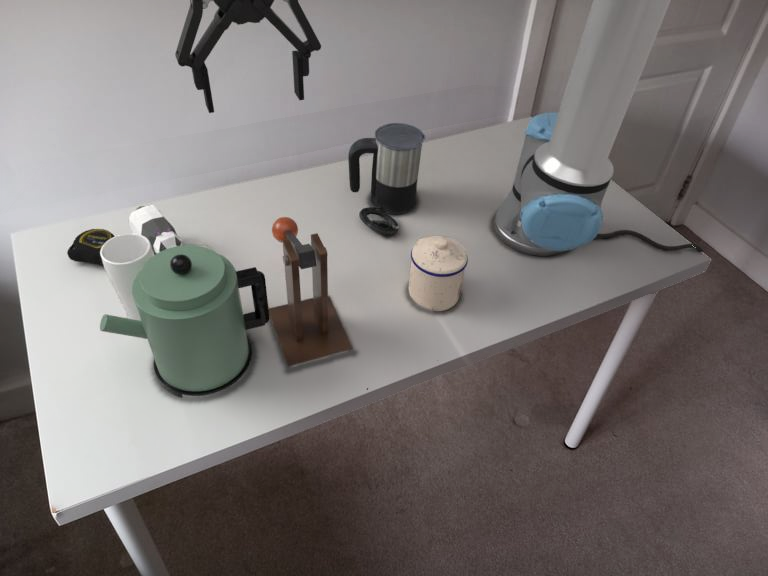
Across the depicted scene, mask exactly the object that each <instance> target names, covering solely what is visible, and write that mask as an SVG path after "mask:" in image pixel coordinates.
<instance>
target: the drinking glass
mask: <svg viewBox="0 0 768 576" xmlns="http://www.w3.org/2000/svg"><path fill="white" fill-rule="evenodd" d="M114 236H115V235H114ZM100 255H101V259H102V262H103V265H104V266H103V269H104V270H105V271H104V272H105V274H106V276H107V278H108V280H109V282H110V284H111V287H112V288H113V290H114V292H115V294H116V296H117V298H118V300H119V302H120V304H121V306H122V308H123V310H124V312H125V314H126V316H127V318H128V319H134V320H139V321H141V319H140V316H139V313H138V310H137V307H136V304H135V301H134V298H133V295H132V286H133V282H134V280H135V278H136V276H137V274H138V273H139V272H140V270H141V269H142V268H143V266H144V265H145V263H146V262H147V261H148V260H149V259H150V258H152V257H153V256H154V252H153V249H152V247H151V244H150V241H149V240H148V239H147V238H146V237H144V236H142V235H139V234H134V233H132V232H129V233H122V234H118V235H116V236H115V237H113V238H111V239H109V240H108V241H107V242H105V243H104V245H103V246H102V248H101V250H100Z"/></svg>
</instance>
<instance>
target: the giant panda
mask: <svg viewBox="0 0 768 576" xmlns="http://www.w3.org/2000/svg"><path fill="white" fill-rule="evenodd" d="M128 223H129V230H130V233H134V234H139V235H142V236H144V237H146V238H147V239H148V240H149V241H150V244H151V247H152V249H153V252H154V255H156V254H157V253H159V252H161V251H163V250H166V249H169V248H172V247H176V246H182V245H183V243H182V241H181V239H180V237H179V236H178V234H177V231H176V230H175V227H174V226H173V225H172V224H171V223H170V221H168V219H167V218H166V217H165V216H164V214H163V213H162V212H161V210H160V209H159V208H158V207H157V206H156V205H155V204H151V205H146V206H145V205H141V206H138V207H137V208H135V210H134V211H132V212H131V213H130V215H129V218H128Z"/></svg>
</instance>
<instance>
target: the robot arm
mask: <svg viewBox="0 0 768 576" xmlns="http://www.w3.org/2000/svg"><path fill="white" fill-rule="evenodd" d="M282 1H283V2H284V3H285V2H286V3H287V5H288V7H289V9H290V11H291V13H292V15H293V16H294V18H295V20H296V21H297V24H298V25H299V28H300V29H301V31H302V33H303V35H304V36H305V39H306V40H304V41H303V40H302V39H300V37H299V36H298V35H297V34H296V33H295V32H294V31H293V30H292V29H291V28H290V27H289V26H288V24H286V23H285V22H284V21H283V19H282V18H281V17H280V16H279V15H278V14H277V13H276V11H274V10H273V8H272V5H273V4H274V2H275V0H189V7H188V8H189V9H188V10H187V15H186V17H185V21H184V24H183V27H182V30H181V33H180V36H179V41H178V43H177V47H176V50H175V54H174V56H175V59H176V62H177V64H178V65H179V67H189V68H190V69H191V73H192V79H193V84H194V86H195V88H196V90H197V91H201V90H203V91H202V92H203V96H204V103H205V107H206V109H207V111H208V113H209V114H213V113H215V107H214V102H213V101H214V100H213V96H212V95H213V94H212V89H211V83H210V76H209V70H208V67H207V65H206V63H205V62H206V60H207V59H208V58H209V56H210V54H211V53H212V51H213V50H214V48H215V47H216V45H217V44H218V42H219V40H220V39H221V37H223V36H222V35H223V34H224V33H225V31H227V30H228V29H229V28H230V26H231V25H232V24H233V23H234V24H236V25H237V26H238V25H239V26H240V25H245V24H247V23H252V24H259V23H261V21H263V20H264V19H266V20H267V22H269V24H271V25H272V26H273V27H274V28H275V29H276V30H277V31H278V32H279V33H280V34H281V35H282V36H283V37H284V38H285V39H286V40H287V41H288V42H289V43H290V44H291V46H293V47H294V48H295V49H296V50H292V51H291V52H292V53H291V55H292V57H291V58H292V72H293V75H292V76H293V89H294V90H293V91H294V94H295V96H296V97H297V99H298V101H303V100H305V90H304V88H305V87H304V85H305V84H304V77H309V75H310V58H311V57H312V53H313V52H315V51H316V52H319V51H321V49H322V44H321V42H320V40H319V38H318V36H317V34H316V33H315V31H314V29H313V27H312V25H311V23H310V21H309V19H308V18H307V16H306V14H305V12H304V10H303V8H302V6H301V4H300V2H299V0H282ZM671 1H672V0H593V1H592V4H591V7H590V10H589V13H588V17H587V19H586V22H585V26H584V30H583V32H582V36H581V39H580V43H579V44H578V48H577V52H576V55H575V58H574V61H573V64H572V68H571V71H570V74H569V77H568V81H567V84H566V87H565V89H564V90H565V91H564V94H563V97H562V99H561V103H560V107H559V109H558V112H553V111H552V112H544V113H540V114H537V115H535V116H533V117H532V118H530V120H529V122H528V124H527V128H526V130H525V132H524V135H525V136H524V139H523V144H522V148H521V151H520V156H519V160H518V162H517V163H518V164H517V167H516V171H515V176H514V180H513V184H512V187H511V190H510V191H509V193H508V194H507V196H506V197H505V199H504V200H503V201H502V203H501V204H500V206H499V207H498V208H497V210H496V213H495V216H494V220H493V227H494V231H495V233H496V235H497V237H498V238H499V239H500V241H502V242H503V243H505V245H507V246H508V247H510V248H512V249H514V250H516V251H518V252H521V253H524V254H527V255H531V256H540V257H545V256H546V257H547V256H554V255H555V256H556V255H559V254H561V253H563V252H565V251H572V250H575V249H576V248H578V247H584V246H586V245H587V244H589V243H591V242H592V241H593V240H594V239H595V238H598V239H608V238H613V237H615V236H620V235H631V236H635V237H637V238H639V239H641V240H642V241H644V242H646V243H648V244H649V245H651V246H653V247H655V248H657V249H660V250H664V251H679V250H680V251H681V250H685V249H695V250H697V249H698V250H697V251H698V252H699V253H703V252H704V250H703V248H702V246H700V245H699V244H696V243H685V244H680V245H673V246H672V245H666V244H665V245H664V244H661V243H658V242H657V241H656V240H655V241H654V240H652V239H651V238H649V237H647V236H646V235H645V234H642V233H640V232H638V231H635V230H629V229H620V230H616V231H613V232H610V233H604V234H603V233H599V232H600V231H601V230H602V229H601V228H602V225H603V218H604V215H603V210H602V203H603V199H604V197H605V194H606V193H607V190H608V188H609V185H610V184H611V183H610V182H611V180H612V177H613V175H614V171H615V170H614V168H615V167H614V165H613V163H612V161H611V160H610V158H609V156H610V154H611V151H612V149H613V145H614V144H615V141H616V138H617V136H618V134H619V131H620V129H621V126H622V123H623V121H624V119H625V116H626V114H627V112H628V109H629V106H630V104H631V101H632V99H633V96H634V94H635V91H636V88H637V87H638V84H639V81H640V79H641V76H642V74H643V71H644V68H645V67H646V64H647V61H648V58H649V56H650V54H651V51H652V49H653V46H654V44H655V41H656V39H657V36H658V33H659V31H660V29H661V26H662V23H663V21H664V19H665V16H666V14H667V10H668V8H669V6H670V3H671ZM210 2H214V4H215V5H216V6H217V8H218V9H217V10H216V11H215V13H214V14H213V19H212V20H211V22H210V23H209V25H208V26H207V28H206V29H205V31H204V33H203V34H202V36H201V37H200V39H199V40H198V42H197V44H196V46H195V47H194V49H193V46H194V44H195V41H196V37H197V34H198V31H199V27H200V24H201V21H202V18H203V15H204V10H205V9H207V8H208V7H209V4H210ZM192 49H193V50H192ZM692 245H693V246H694V247H696V248H694V247H693V246H692Z"/></svg>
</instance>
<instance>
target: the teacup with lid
mask: <svg viewBox="0 0 768 576" xmlns="http://www.w3.org/2000/svg"><path fill="white" fill-rule="evenodd" d="M410 259H411V263H410V270H409V271H410V272H409V279H408V288H407V289H408V293H409V296H410V298H411V299H412V300H413V301H414V302H415V303H417V304H418V305H420V306H422V307H425V308H428V309H431V311H432V312H442V311H447V310H449V309H451V308H453V307H454V306H455V305H456V304H457V302H458V301H459V298H460V294H461V289H462V284H463V279H464V274H465V270H466V267H467V266H468V263H469V256H468V252H467V250H466V249H465V247H464V246H463V245H462V244H461V243H460V242H459V241H457V240H456V239H453V238H450V237H448V236H443V235H430V236H427V237H420V238H419V239H418V240H417V242H416V243H415V244H414V245H413V247H412V249H411V251H410Z"/></svg>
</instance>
